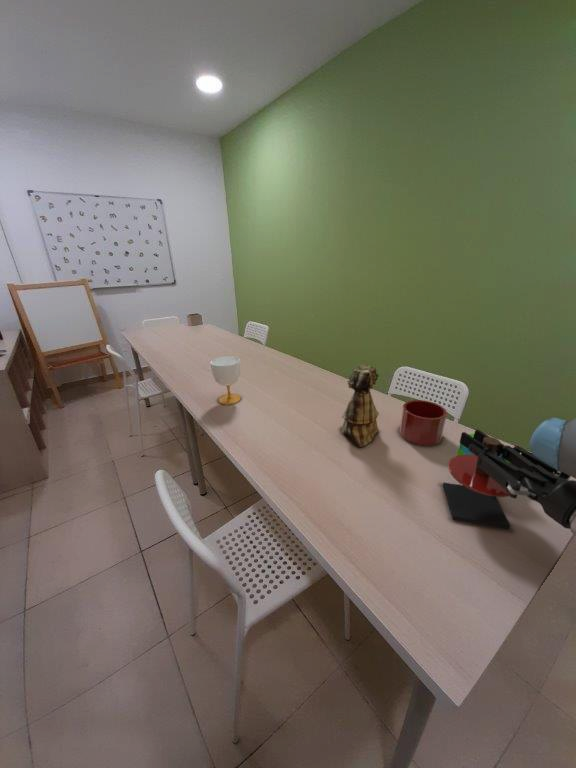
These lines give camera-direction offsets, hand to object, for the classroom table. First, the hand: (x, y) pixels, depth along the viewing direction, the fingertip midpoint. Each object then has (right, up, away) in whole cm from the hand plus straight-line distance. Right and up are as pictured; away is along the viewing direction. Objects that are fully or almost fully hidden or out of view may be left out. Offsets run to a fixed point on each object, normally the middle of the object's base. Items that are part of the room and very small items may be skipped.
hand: (468, 436), depth 69 cm
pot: (+2, -5, +29) cm, 29 cm away
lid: (+2, -8, -2) cm, 9 cm away
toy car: (+12, -12, +11) cm, 21 cm away
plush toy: (-19, -5, +30) cm, 36 cm away
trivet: (+2, -17, +1) cm, 17 cm away
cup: (-66, +5, +57) cm, 87 cm away
